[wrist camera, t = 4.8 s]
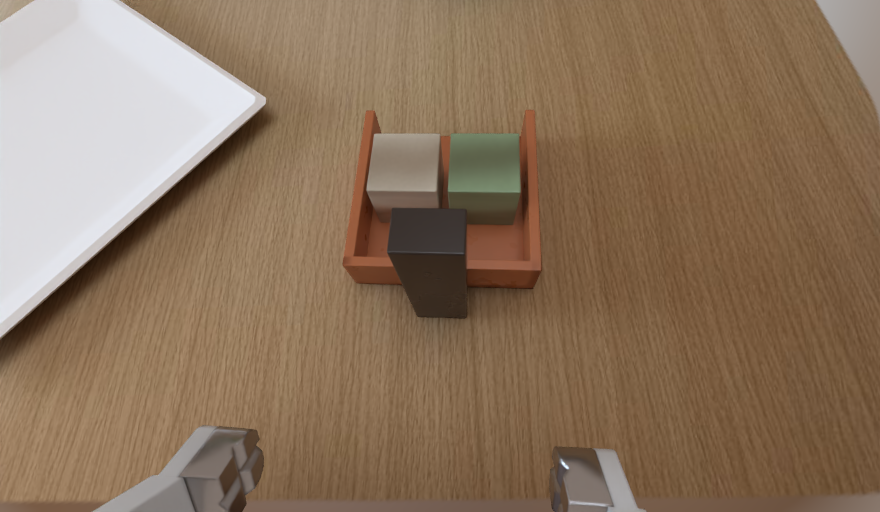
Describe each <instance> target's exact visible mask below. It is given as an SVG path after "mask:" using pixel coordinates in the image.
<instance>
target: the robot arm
mask: <svg viewBox="0 0 880 512" xmlns="http://www.w3.org/2000/svg"><path fill="white" fill-rule="evenodd" d="M258 441H259V436H258V432H257V430H254V429H245V428H234V427H222V426H207V425H202V426H200V427H199V428H197V429H196V430H195V431H194V432H193V434H192V435H191V436H190V437H189V439H188V440H187V441H186V442H185V443H184V445H183V446H182V447H181V448H180V449H179V451H178V452H177V453H176V454H175V456H174V457H173V458H172V459H171V460H170V462H169V463H168V464H167V465H166V467H165V468H164V469H163V470H162V471H161V473H160V474H159V475H152V476H151V477H149V478H147V479H146V480H144V481H142V482H141V483H139V484H137V485H136V486H134V487H132V488H131V489H129V490H127V491H126V492H124V493H122V494H121V495H119V496H117V497H116V498H114V499H112V500H111V501H109V502H107V503H106V504H104V505H102V506H101V507H99V508H97V509H96V510H94V511H92V512H242V511H243V509H244V507H245V506H246V497H245V495H247V494H248V493H249V492H251V491H252V490H253V489H255V487H256V486H257V484H258V482H259V480H260V478H261V474H262V471H263V467H264V456H263V452H262V450H261V449H260V448H259V447H257V446H256V444H257V442H258ZM552 459H553V464H554V467H552V468H551V469H550V478H549V490H550V499H551V505H552V509H553V511H555V512H647V511H646V510H645V509H638V507H637V505H636V502H635V499H634V497H633V494H632V492H631V489H630V487H629V484H628V481H627V479H626V476H625V474H624V471H623V469H622V466H621V464H620V461H619V458H618V456H617V453H616V452H615V451H614V450H613V449H596V448H594V449H592V448H579V447H557V446H555V447H554V449H553V454H552Z"/></svg>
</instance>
